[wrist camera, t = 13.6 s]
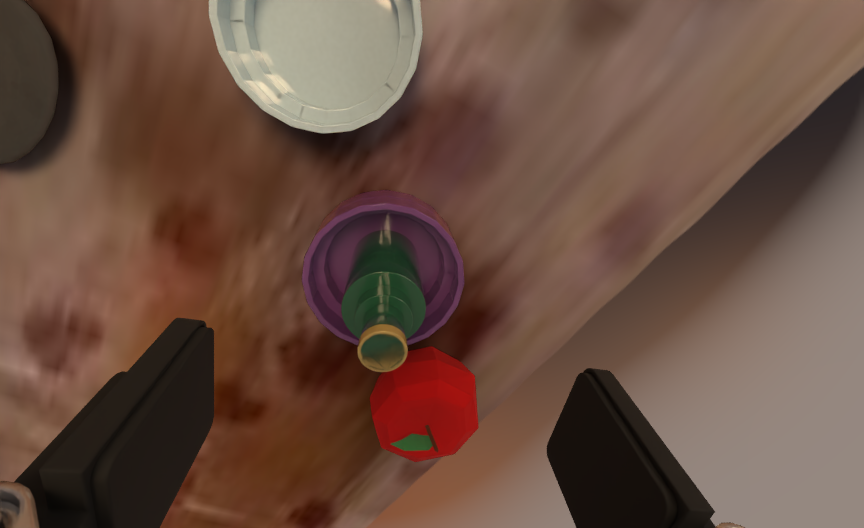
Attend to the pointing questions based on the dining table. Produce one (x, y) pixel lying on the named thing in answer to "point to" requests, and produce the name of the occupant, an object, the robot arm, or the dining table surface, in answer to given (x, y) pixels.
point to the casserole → (24, 80)
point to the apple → (425, 406)
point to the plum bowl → (375, 213)
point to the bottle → (383, 298)
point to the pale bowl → (320, 57)
